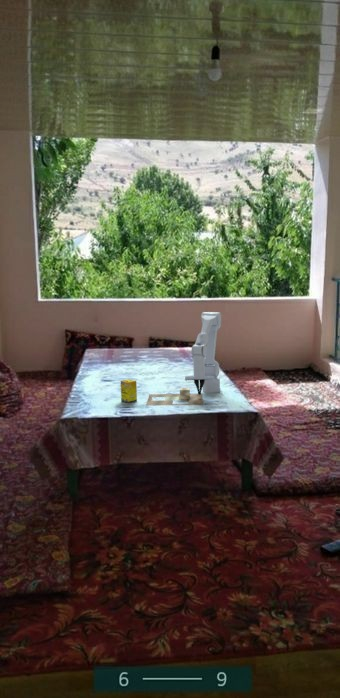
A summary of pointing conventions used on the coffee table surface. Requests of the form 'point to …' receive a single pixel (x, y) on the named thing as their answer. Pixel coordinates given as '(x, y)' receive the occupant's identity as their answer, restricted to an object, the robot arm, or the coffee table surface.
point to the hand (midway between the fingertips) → (199, 394)
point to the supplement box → (128, 391)
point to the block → (184, 393)
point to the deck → (194, 399)
